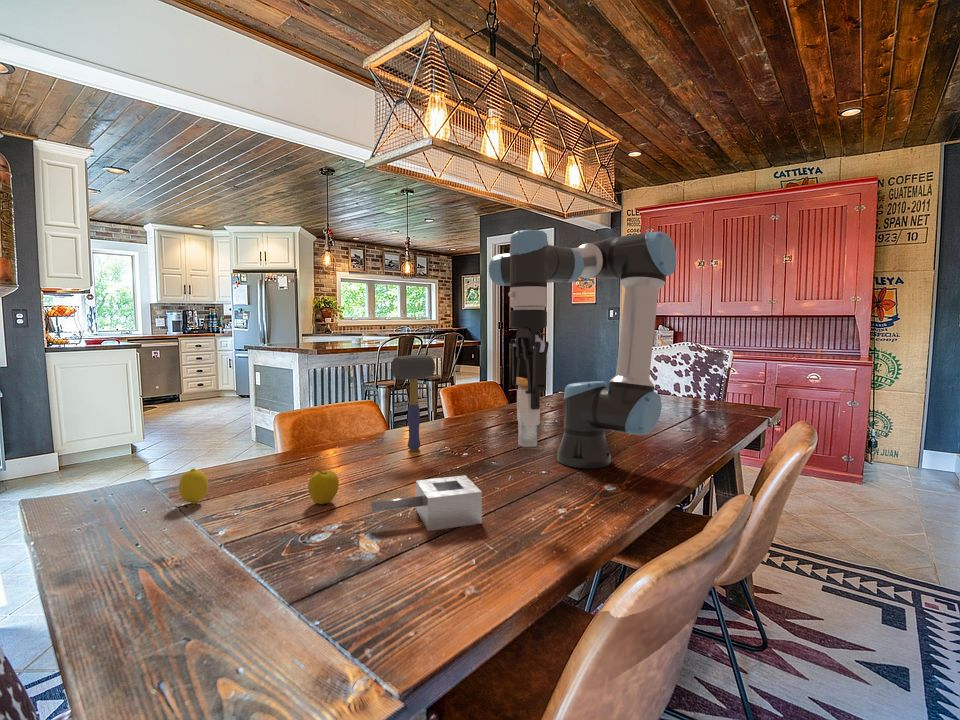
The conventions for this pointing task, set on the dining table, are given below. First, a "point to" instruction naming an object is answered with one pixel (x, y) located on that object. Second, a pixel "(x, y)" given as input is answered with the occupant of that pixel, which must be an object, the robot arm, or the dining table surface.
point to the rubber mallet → (413, 388)
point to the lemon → (193, 486)
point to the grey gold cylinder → (525, 432)
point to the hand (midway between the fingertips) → (528, 422)
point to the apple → (323, 486)
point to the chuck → (441, 502)
